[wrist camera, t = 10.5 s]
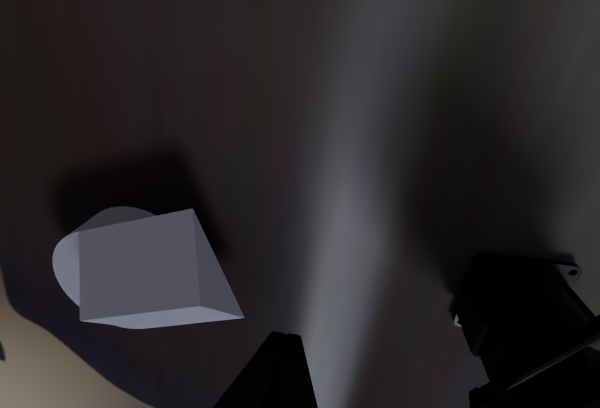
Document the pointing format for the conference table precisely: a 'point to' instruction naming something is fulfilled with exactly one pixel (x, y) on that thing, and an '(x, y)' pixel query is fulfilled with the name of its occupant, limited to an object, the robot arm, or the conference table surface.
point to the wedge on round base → (143, 270)
